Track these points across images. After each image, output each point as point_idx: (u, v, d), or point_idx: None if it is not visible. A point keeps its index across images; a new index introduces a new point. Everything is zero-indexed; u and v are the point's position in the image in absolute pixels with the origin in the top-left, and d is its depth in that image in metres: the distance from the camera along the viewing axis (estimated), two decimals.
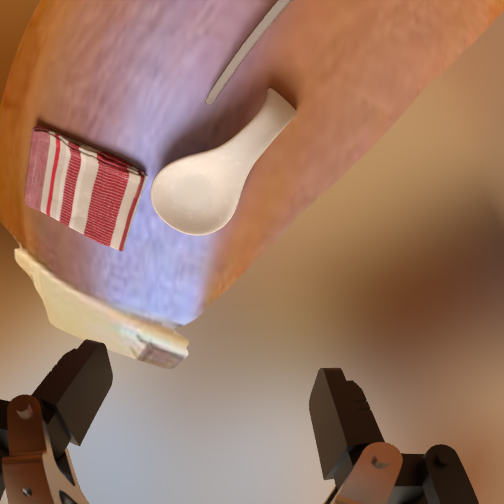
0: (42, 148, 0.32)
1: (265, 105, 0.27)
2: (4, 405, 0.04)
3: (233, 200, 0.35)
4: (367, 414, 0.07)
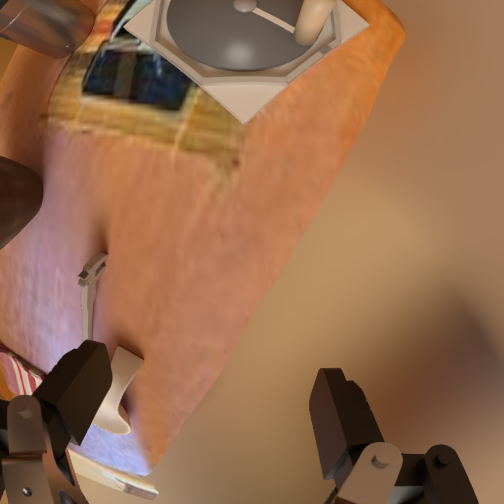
0: (8, 361, 0.39)
1: None
2: (4, 405, 0.04)
3: (124, 422, 0.37)
4: (367, 414, 0.07)
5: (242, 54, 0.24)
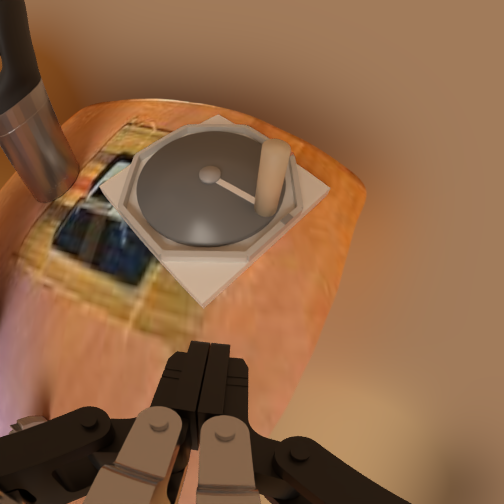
0: None
1: None
2: (119, 424, 0.06)
3: None
4: (242, 391, 0.08)
5: (202, 227, 0.29)
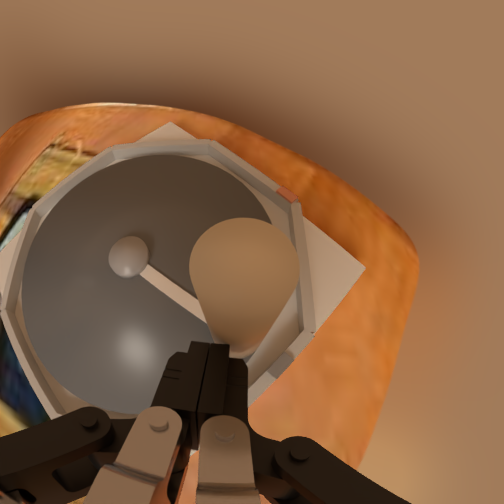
0: None
1: None
2: (118, 424, 0.06)
3: None
4: (241, 391, 0.08)
5: (115, 380, 0.13)
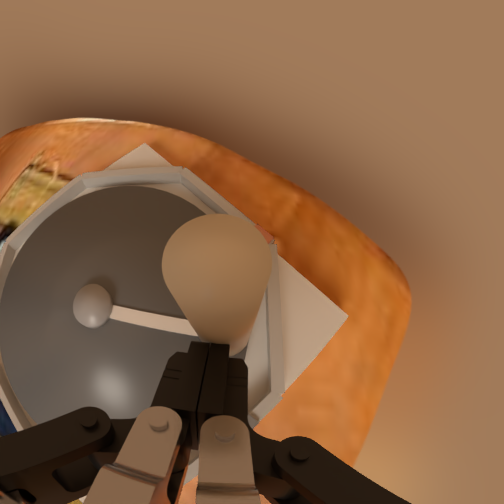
0: None
1: None
2: (118, 424, 0.06)
3: None
4: (241, 391, 0.08)
5: None
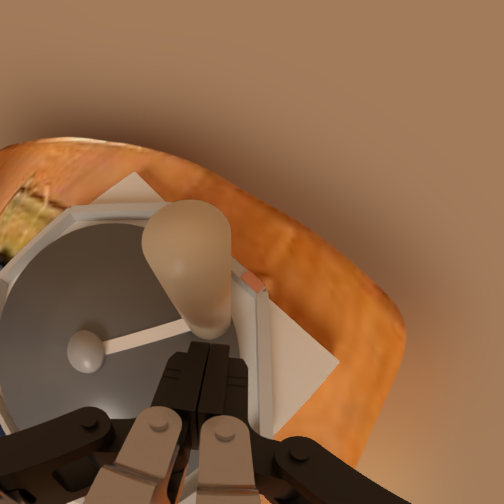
0: None
1: None
2: (118, 424, 0.06)
3: None
4: (242, 391, 0.08)
5: None
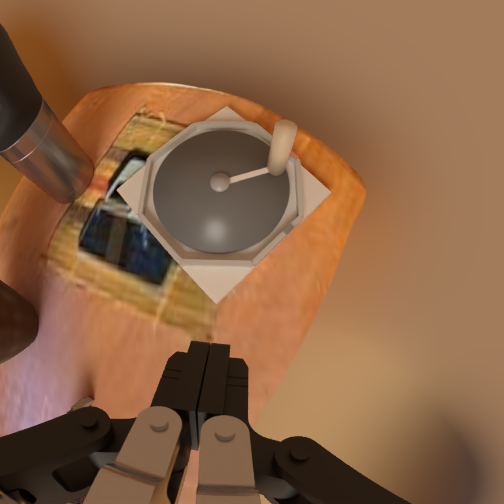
0: None
1: None
2: (118, 424, 0.06)
3: None
4: (242, 391, 0.08)
5: (265, 215, 0.35)
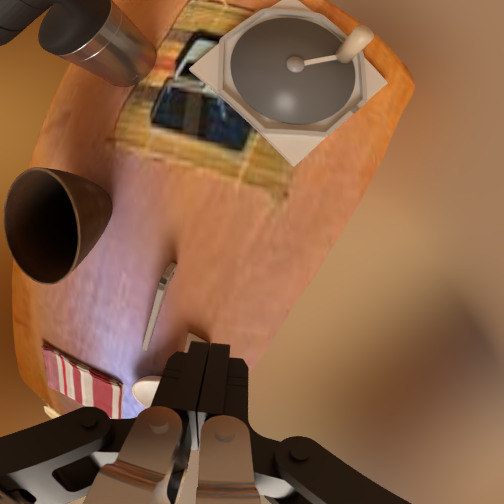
0: (52, 359, 0.50)
1: None
2: (119, 424, 0.06)
3: None
4: (242, 391, 0.08)
5: (335, 96, 0.34)
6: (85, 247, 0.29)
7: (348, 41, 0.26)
